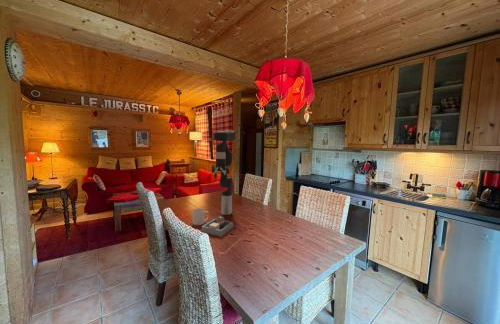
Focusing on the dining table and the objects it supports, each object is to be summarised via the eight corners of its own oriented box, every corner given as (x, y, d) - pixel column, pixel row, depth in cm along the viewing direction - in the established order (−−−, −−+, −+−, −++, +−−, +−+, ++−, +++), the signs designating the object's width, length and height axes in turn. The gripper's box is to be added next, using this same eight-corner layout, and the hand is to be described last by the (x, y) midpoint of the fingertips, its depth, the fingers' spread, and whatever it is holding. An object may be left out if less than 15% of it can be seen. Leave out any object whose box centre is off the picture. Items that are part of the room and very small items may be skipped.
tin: (219, 225, 156) (219, 215, 155) (225, 227, 154) (225, 216, 153) (215, 228, 151) (215, 217, 150) (221, 229, 149) (221, 219, 148)
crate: (215, 224, 160) (215, 218, 159) (233, 228, 154) (233, 222, 153) (201, 233, 144) (201, 226, 144) (221, 238, 138) (221, 230, 138)
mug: (192, 226, 155) (192, 212, 154) (192, 222, 164) (192, 208, 163) (208, 225, 158) (208, 211, 157) (208, 221, 167) (208, 207, 166)
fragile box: (213, 229, 148) (213, 223, 148) (219, 231, 146) (219, 224, 146) (209, 232, 143) (209, 225, 143) (215, 234, 142) (215, 227, 141)
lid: (213, 223, 148) (213, 222, 148) (219, 224, 146) (219, 223, 146) (209, 225, 143) (209, 225, 143) (215, 227, 141) (215, 226, 141)
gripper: (231, 158, 157) (230, 179, 158) (215, 157, 162) (215, 177, 164) (226, 158, 150) (226, 180, 151) (209, 157, 156) (209, 178, 157)
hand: (220, 179), depth 158 cm, fingers open, 8 cm apart
